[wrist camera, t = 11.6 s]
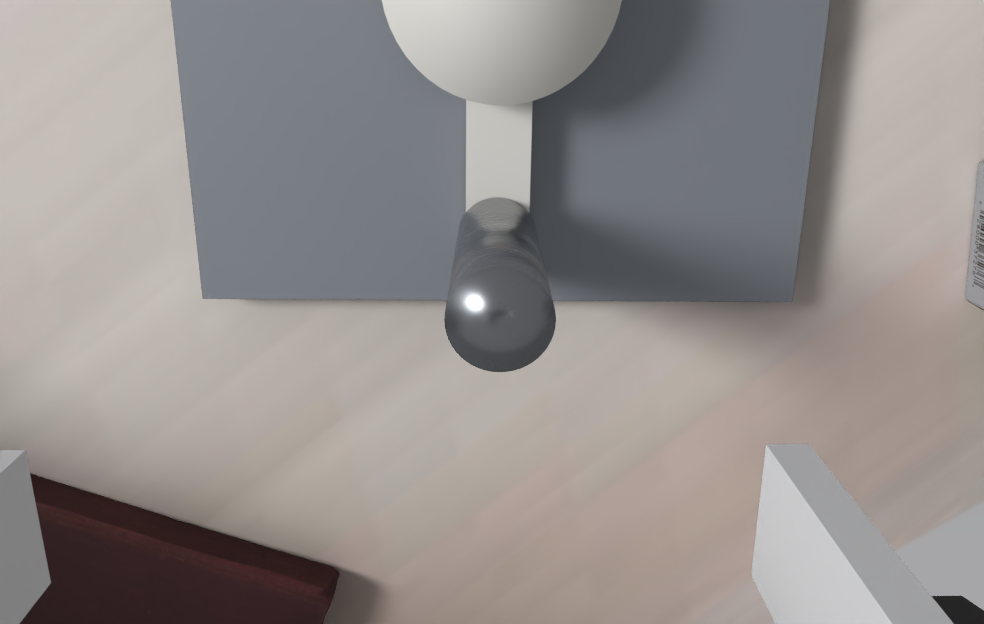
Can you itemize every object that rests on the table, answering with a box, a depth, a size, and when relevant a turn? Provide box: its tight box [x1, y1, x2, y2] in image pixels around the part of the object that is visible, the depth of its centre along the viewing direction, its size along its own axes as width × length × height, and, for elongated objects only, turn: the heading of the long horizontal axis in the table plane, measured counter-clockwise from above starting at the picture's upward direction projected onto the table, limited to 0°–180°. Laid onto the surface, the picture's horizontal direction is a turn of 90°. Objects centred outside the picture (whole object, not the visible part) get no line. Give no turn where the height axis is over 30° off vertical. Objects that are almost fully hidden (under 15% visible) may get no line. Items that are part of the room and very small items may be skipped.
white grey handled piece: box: [382, 0, 622, 372], centre depth 25 cm, size 20×8×11 cm, turn 179°
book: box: [20, 474, 339, 624], centre depth 40 cm, size 12×19×3 cm, turn 69°
